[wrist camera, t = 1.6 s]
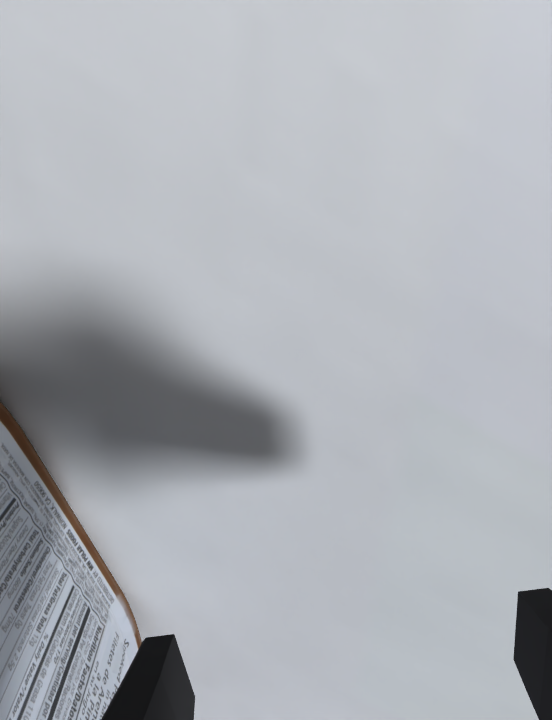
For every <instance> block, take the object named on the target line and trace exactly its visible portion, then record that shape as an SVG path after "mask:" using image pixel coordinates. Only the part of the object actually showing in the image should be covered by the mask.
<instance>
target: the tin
mask: <svg viewBox="0 0 552 720" xmlns="http://www.w3.org/2000/svg"><path fill="white" fill-rule="evenodd" d="M141 644H142V642H141V638H140V634H139V630H138V627H137V624H136V621H135V618H134V616H133V613H132V611H131V608H130V606H129V604H128V602H127V600H126V598H125V596H124V594H123V592H122V590H121V589H120V587H119V586H118V584H117V582H116V581H115V579H114V578H113V576H112V574H111V573H110V571H109V569H108V568H107V566H106V565H105V563H104V561H103V560H102V558H101V556H100V555H99V553H98V552H97V550H96V548H95V547H94V545H93V544H92V542H91V540H90V539H89V537H88V535H87V534H86V532H85V530H84V529H83V527H82V525H81V524H80V522H79V521H78V519H77V517H76V516H75V514H74V513H73V511H72V509H71V508H70V506H69V505H68V503H67V501H66V500H65V498H64V497H63V495H62V493H61V492H60V490H59V488H58V487H57V485H56V484H55V482H54V480H53V479H52V477H51V476H50V474H49V472H48V471H47V469H46V468H45V466H44V464H43V463H42V461H41V459H40V458H39V456H38V455H37V453H36V451H35V450H34V448H33V447H32V445H31V443H30V442H29V440H28V438H27V437H26V435H25V434H24V432H23V430H22V429H21V427H20V426H19V425H18V423H17V422H16V421H15V419H14V418H13V417H12V415H11V414H10V413H9V411H8V410H7V409H6V408H5V407H4V406H3V404H2V403H1V402H0V720H101V719H102V717H103V715H104V713H105V712H106V710H107V708H108V706H109V704H110V702H111V701H112V699H113V697H114V695H115V693H116V691H117V689H118V688H119V686H120V684H121V682H122V680H123V678H124V676H125V674H126V673H127V671H128V669H129V667H130V665H131V663H132V661H133V659H134V657H135V655H136V653H137V651H138V649H139V647H140V646H141Z"/></svg>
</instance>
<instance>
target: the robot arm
mask: <svg viewBox="0 0 552 720" xmlns="http://www.w3.org/2000/svg"><path fill="white" fill-rule="evenodd" d="M514 661H515V664H516V666H517V669H518V671H519V673H520V676H521V678H522V681H523V683H524V686H525V688H526V690H527V693H528V695H529V697H530V700H531V702H532V704H533V707H534V709H535V711H536V714H537V716H538V718H539V720H552V590H550V589H549V588H545V589H536V590H528V591H520V592H518V603H517V617H516V632H515V647H514ZM194 704H195V695H194V692H193V689H192V686H191V683H190V680H189V677H188V674H187V671H186V668H185V665H184V662H183V659H182V656H181V653H180V650H179V647H178V644H177V641H176V638H175V635H174V634H172V635H164V636H156V637H148V638H145V640H144V641H143V642H142V644H141V646H140V647H139V649H138V651H137V653H136V655H135V657H134V659H133V661H132V663H131V665H130V667H129V669H128V671H127V673H126V674H125V676H124V678H123V680H122V682H121V684H120V686H119V688H118V689H117V691H116V693H115V695H114V697H113V699H112V701H111V702H110V704H109V706H108V708H107V710H106V712H105V713H104V715H103V717H102V719H101V720H194Z"/></svg>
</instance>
